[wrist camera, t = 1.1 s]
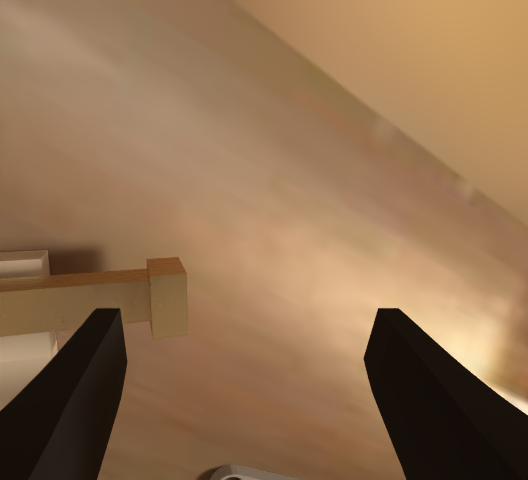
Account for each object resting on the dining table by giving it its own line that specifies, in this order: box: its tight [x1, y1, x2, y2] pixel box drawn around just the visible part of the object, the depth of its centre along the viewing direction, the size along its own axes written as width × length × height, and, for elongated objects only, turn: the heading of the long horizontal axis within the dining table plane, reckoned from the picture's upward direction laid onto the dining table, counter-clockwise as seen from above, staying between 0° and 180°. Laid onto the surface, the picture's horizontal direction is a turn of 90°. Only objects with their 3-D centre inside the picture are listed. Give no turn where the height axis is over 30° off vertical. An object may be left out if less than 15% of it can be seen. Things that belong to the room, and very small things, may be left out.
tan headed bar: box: [0, 257, 188, 339], centre depth 19 cm, size 3×10×3 cm, turn 88°
